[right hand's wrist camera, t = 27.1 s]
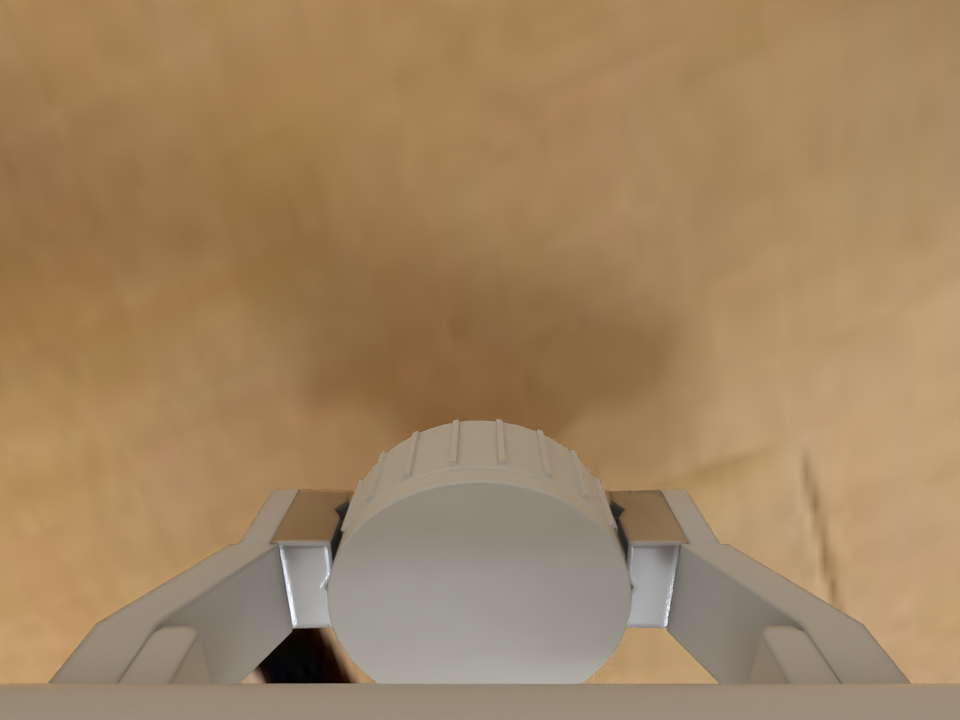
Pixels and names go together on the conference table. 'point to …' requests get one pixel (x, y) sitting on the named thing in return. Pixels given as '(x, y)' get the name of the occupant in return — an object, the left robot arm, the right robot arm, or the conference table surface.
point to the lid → (479, 562)
